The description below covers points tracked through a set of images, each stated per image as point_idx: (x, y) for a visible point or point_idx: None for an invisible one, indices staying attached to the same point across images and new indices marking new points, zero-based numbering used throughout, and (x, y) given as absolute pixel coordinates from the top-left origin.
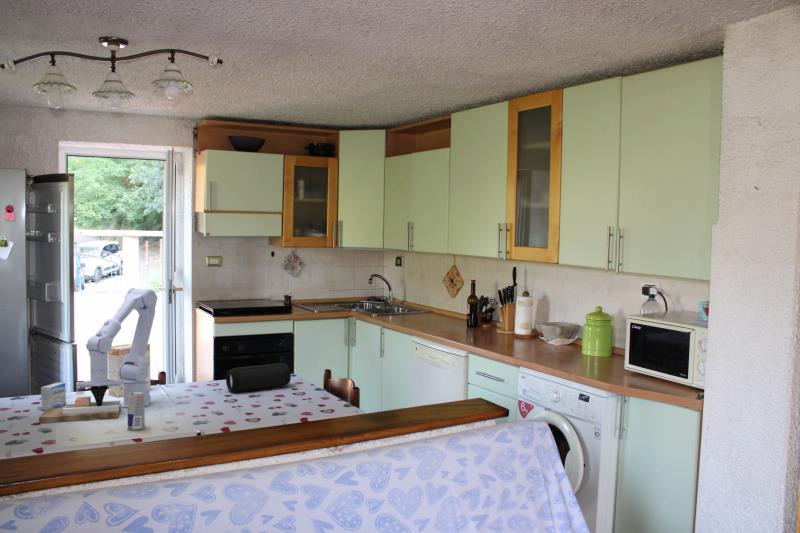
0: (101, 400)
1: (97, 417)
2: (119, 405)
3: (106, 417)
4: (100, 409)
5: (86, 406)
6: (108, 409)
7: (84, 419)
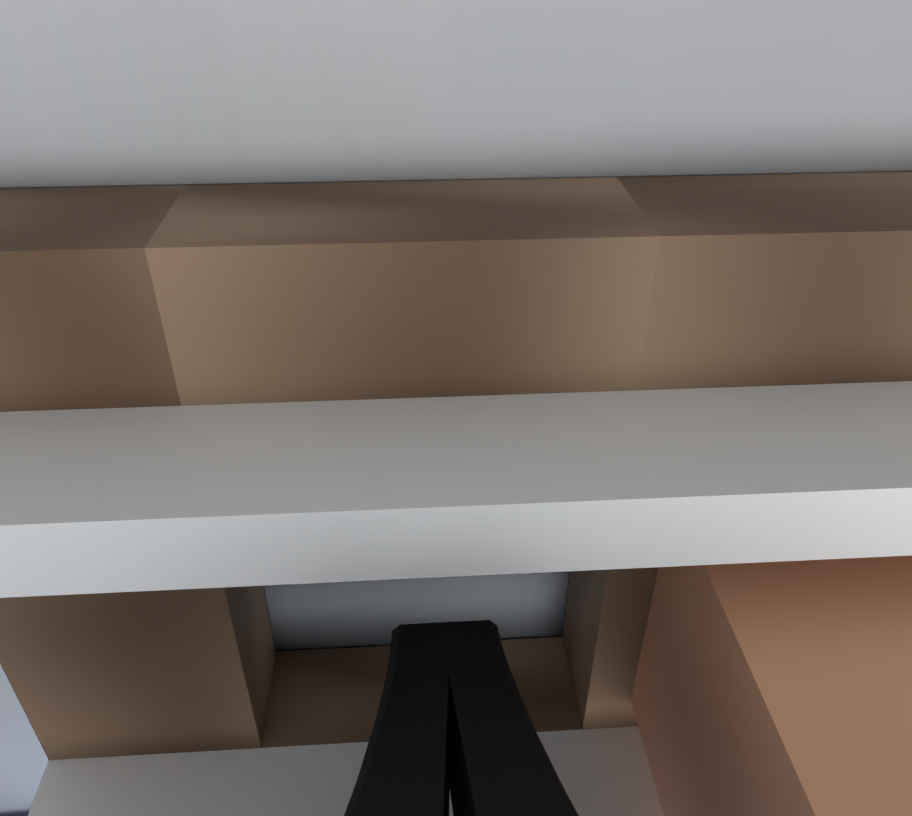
0: (377, 803)
1: (435, 202)
2: (57, 779)
3: (193, 204)
4: (376, 451)
5: (793, 604)
6: (139, 452)
7: (761, 184)
